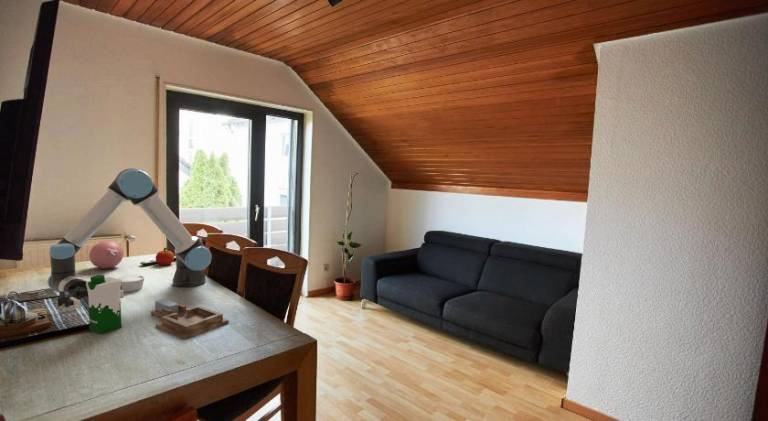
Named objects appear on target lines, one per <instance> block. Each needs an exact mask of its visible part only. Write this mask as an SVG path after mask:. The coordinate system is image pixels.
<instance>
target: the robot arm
mask: <svg viewBox="0 0 768 421" xmlns="http://www.w3.org/2000/svg"><path fill="white" fill-rule="evenodd" d="M159 193H160V188H158V187H157V186H156V184H155V182H153V179H152V177H151V176H150V175H149V174H148V173H147V172H146V171H144V170H143V169H142V170H141V169H139V168H125V169H124V170H121V171H120V172H119V173H118V174H117V176H116V177H115V179H114V180H113V181H112V182H111V183H110V185H108V187H107V192H105V193H104V195H103V196H102V197H101V198H100V199H99V200H98V201H97V202H96V203H95V204H94V205H93V206H92V207H91V208H90V209H89V210H88V211H87V212H86V213H85V214H84V216H83V217H82V218H81V219H80V220H79V221H77V223H76V224H75V225H74V226H73V227H72V228H71V229H70V230H69V231H68V232H67V233H66V234H65V235H64V236H63V238H62V239H60V241H59V242H57V243H55V244H52V245H51V246H50V247H49V259H50V261H49V262H50V274H51V275H50V276H49V277H48V279H47V285H48V287H49V288H50V289H51V290H52V291H54V292H56V293H58V297H57V306H58V307H62V306H63V305H64V307H65V308H69V307H70V306H71V307H74V308H75V309H78V310H80V309H82V305H81V304H82V303H81V299H84V298H86V297H88V290H87V285H86V282H88V281H87V280H84V279H83V278H81V277H77V276H76V275H77V274H76V254H77V253H78V252H79V251H80V250H81V249H82V247H83V246H84V245H86V243H87V242H88V241H89V240H90V239H91V238H92V237H93V236H94V234H96V233H97V231H98V230H99V229H100V228H101V227H102V226H103V225H104V223H106V222H107V220H108V219H110V217H112V215H113V214H114V213H115V212H116V211H117V210H118V209H119V208H120V207H121V206H122V205H123V204H124V203H125V202H129V201H130V202H131V203H132V204H133V206H137V207H140V208H141V210H143V212H145V214H146V215H147V216H148V217H149V219H150V220H151V221H152V222H153V223H154V224H155V226H156V227H157V228H158V229H159V230H160V232H161V233H162V234H163V235H164V236H165V238H166V239H167V240H168V241H169V242H170V243H171V244H172V245H173V247H174V253H175V259H176V260H175V262H176V264H175V266H176V267H175V272H174V275H173V278H172V285H173V286H175V287H179V288H187V287H188V288H190V287H197V286H200V285H203V284H205V283H206V281H207V277H206V274H205V271H204V270H205V269H206V268H208V266H209V265H210V264H211V262H212V253H211V251H210V249H209V248H208V247H206V246H205V244H204V243H203V239H202V238H201V237H198V236H193V235H192V234H191V232H189V231H188V229H187V228H186V227H185V225H183V223H182V222H181V221H180V220H179V218H178V217H177V215H175V213H174V212H173V210H171V209H170V207H169V206H168V205H167V204H166V202H165V201H164V200H163V198H162V197H161V196H160V194H159ZM124 293H125V292H124V291H122V286H121V288H120V299H124V298H125V296H124V295H125V294H124Z"/></svg>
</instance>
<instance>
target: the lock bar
mask: <svg viewBox="0 0 768 421" xmlns="http://www.w3.org/2000/svg"><path fill="white" fill-rule="evenodd" d="M162 308H168V309H170V310H172V314H173V313H178V312H179V306H178V303H177V302H174V301H171V300H169V299H165V298H163V299H162V298H161V299H157V300H155V301H154V309H155V310H158V311H160V312H162Z"/></svg>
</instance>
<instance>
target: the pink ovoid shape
mask: <svg viewBox="0 0 768 421" xmlns="http://www.w3.org/2000/svg"><path fill="white" fill-rule="evenodd" d="M88 257H89V258H88V259H89V261H90V262H91V264H92V265H93V266H94V267H95V268H97V269H98V268H99V269H101V270H102V269H103V270H104V269H105V270H107V269H108V270H109V269H113V268H114V267H116V266H118V265H119V264H120V263H121V262H122V261H123V258H124V249H123V248H122V246H121V245H120V244H118V243H117V242H115V241H112V240H102V241H99V242H98V243H95V244H94V245H93V246H92V247H91V249H90V251H89V254H88Z"/></svg>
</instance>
